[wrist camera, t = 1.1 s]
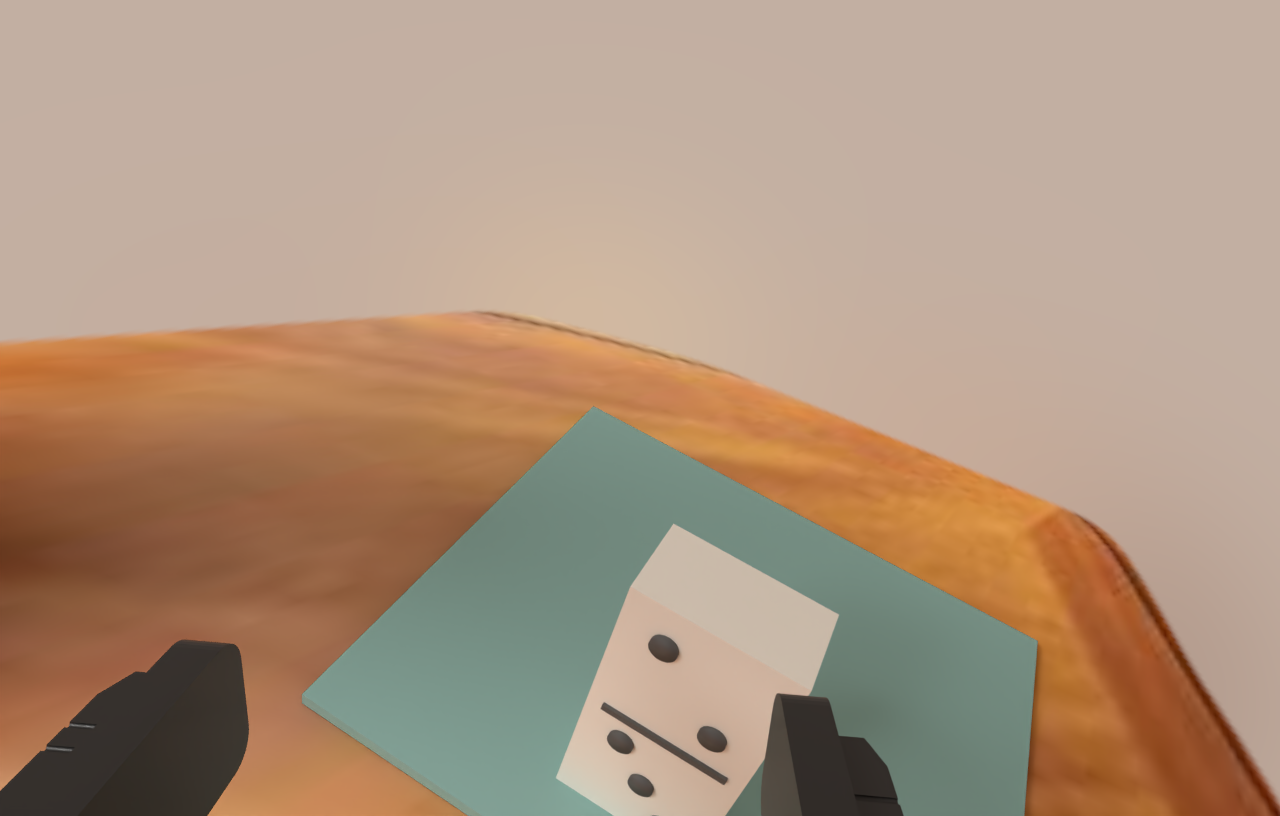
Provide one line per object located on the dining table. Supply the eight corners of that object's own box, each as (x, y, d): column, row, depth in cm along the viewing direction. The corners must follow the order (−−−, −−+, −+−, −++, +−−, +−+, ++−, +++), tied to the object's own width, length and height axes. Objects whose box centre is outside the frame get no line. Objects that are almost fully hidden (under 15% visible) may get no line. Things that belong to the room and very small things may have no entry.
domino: (553, 781, 29) (628, 590, 22) (595, 714, 31) (673, 523, 25) (688, 869, 28) (809, 695, 21) (721, 792, 30) (838, 614, 24)
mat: (302, 703, 29) (301, 694, 29) (591, 414, 46) (593, 406, 46) (987, 1167, 24) (997, 1162, 24) (1031, 647, 41) (1037, 641, 41)
